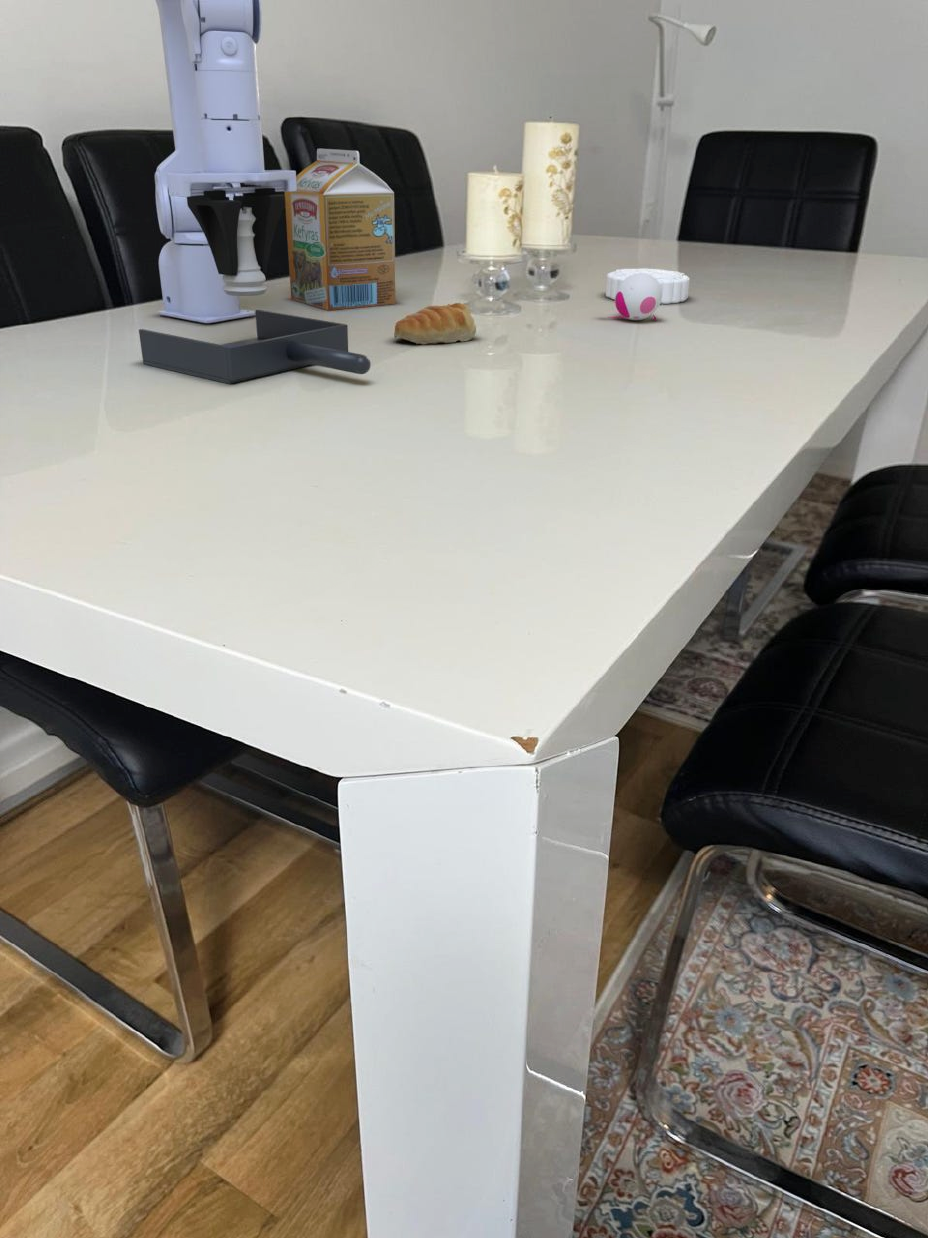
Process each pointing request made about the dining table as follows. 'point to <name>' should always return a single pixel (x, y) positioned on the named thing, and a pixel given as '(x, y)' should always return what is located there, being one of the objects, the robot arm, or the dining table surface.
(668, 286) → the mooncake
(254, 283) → the rook chess piece
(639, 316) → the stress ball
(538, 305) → the dining table surface
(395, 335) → the pastry
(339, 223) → the milk carton
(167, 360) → the scoop
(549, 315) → the dining table surface
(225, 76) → the robot arm
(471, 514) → the dining table surface
